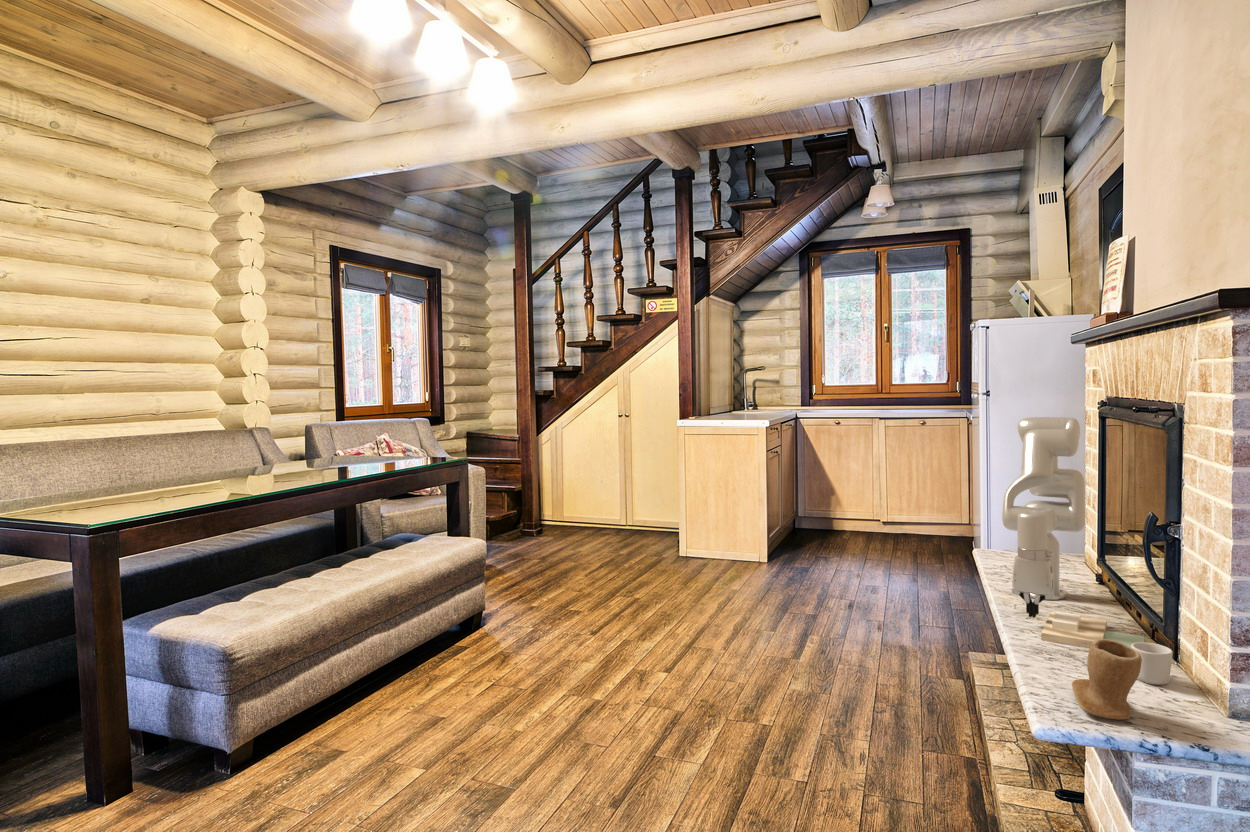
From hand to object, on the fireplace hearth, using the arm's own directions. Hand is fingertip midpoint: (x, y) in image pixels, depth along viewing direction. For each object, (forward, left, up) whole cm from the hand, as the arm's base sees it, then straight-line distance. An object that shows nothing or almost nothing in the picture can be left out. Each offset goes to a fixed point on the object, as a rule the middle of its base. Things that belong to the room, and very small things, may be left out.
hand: (1032, 616), depth 208 cm
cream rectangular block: (0, +8, -1) cm, 9 cm away
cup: (+26, +28, -3) cm, 39 cm away
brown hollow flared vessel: (+50, +20, -3) cm, 54 cm away
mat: (+4, +22, -3) cm, 23 cm away
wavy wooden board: (0, +10, -3) cm, 11 cm away
